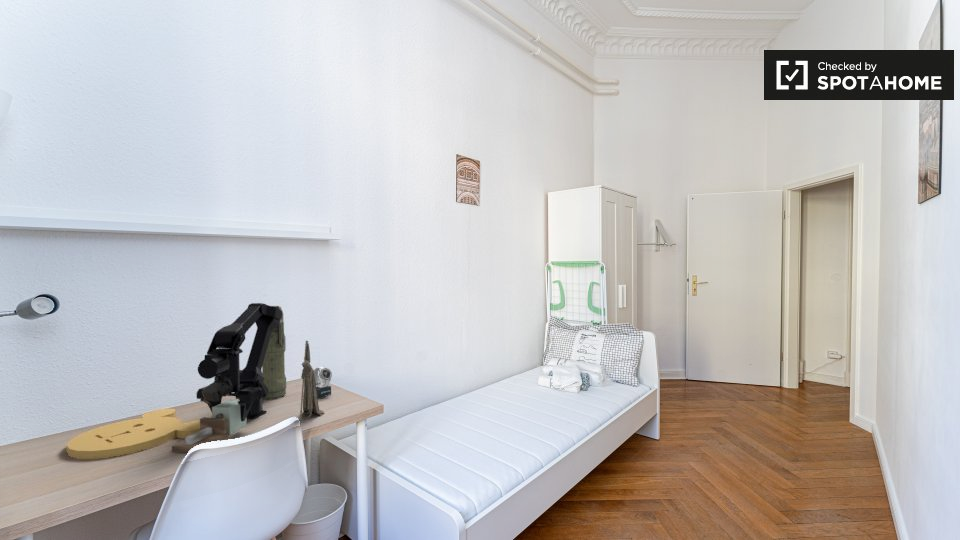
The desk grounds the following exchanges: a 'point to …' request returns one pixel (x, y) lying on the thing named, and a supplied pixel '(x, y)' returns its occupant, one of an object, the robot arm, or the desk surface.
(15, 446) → the desk surface
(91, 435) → the decorative plaque
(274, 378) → the thermos
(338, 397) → the desk surface
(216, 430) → the cleat board
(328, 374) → the watch
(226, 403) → the cabinet block
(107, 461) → the desk surface
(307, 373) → the wizard figurine
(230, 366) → the robot arm
